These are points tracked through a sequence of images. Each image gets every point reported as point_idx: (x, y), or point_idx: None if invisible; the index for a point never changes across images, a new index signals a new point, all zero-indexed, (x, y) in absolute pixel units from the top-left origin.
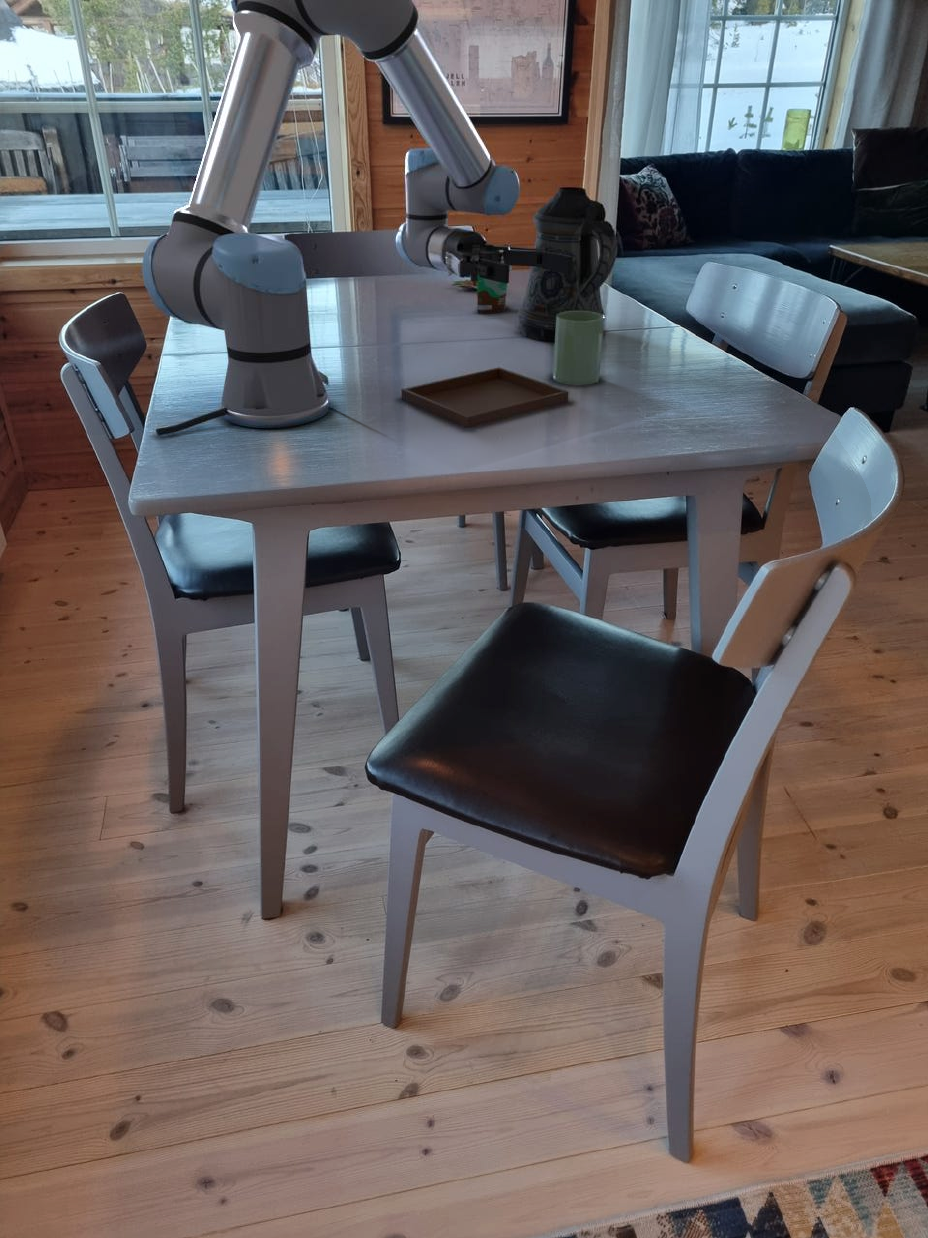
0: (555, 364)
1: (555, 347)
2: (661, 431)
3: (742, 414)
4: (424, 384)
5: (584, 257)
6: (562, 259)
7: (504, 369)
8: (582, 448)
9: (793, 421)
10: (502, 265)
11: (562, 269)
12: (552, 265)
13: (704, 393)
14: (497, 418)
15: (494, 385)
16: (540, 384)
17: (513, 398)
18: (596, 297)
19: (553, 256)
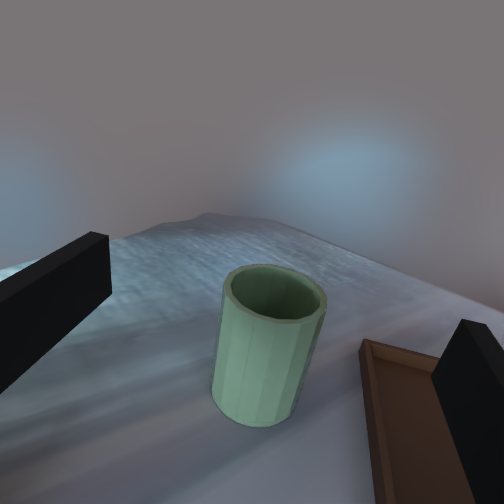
0: (300, 388)
1: (305, 367)
2: (337, 271)
3: (245, 243)
4: None
5: None
6: (81, 269)
7: (388, 494)
8: (432, 300)
9: (235, 225)
10: (494, 343)
11: (87, 302)
12: (33, 340)
13: (203, 265)
14: None
15: (430, 494)
16: (376, 383)
17: (431, 415)
18: None
19: (32, 298)
